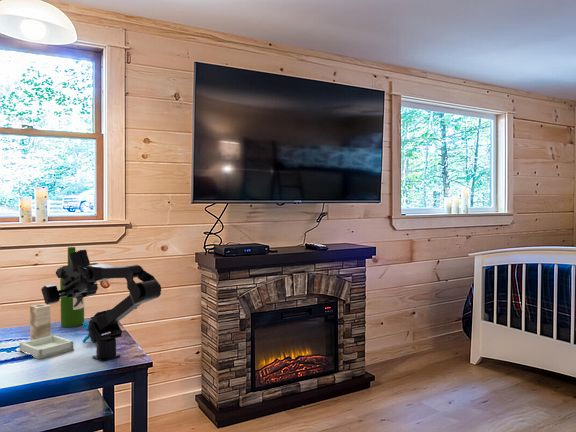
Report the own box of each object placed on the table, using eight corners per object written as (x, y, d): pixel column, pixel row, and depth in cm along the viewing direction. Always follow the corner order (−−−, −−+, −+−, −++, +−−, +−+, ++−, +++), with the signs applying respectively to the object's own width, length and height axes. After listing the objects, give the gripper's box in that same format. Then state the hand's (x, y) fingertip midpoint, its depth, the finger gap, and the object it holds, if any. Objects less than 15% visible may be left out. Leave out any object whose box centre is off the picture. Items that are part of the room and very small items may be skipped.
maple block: (50, 339, 177) (50, 305, 176) (37, 343, 173) (36, 307, 172) (43, 337, 180) (43, 303, 179) (30, 340, 176) (29, 305, 175)
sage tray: (73, 349, 165) (73, 341, 165) (38, 359, 155) (38, 350, 155) (53, 343, 173) (53, 334, 173) (19, 351, 163) (19, 343, 163)
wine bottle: (73, 328, 192) (72, 248, 191) (56, 326, 195) (54, 248, 194) (89, 322, 201) (87, 246, 200) (72, 320, 204) (70, 245, 202)
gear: (103, 340, 170) (82, 321, 170) (90, 353, 169) (69, 334, 168) (108, 336, 181) (88, 318, 180) (96, 347, 180) (76, 330, 179)
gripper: (97, 258, 173) (75, 274, 181) (48, 265, 157) (26, 281, 165) (107, 287, 171) (83, 301, 179) (58, 296, 155) (35, 312, 163)
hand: (58, 298), depth 171 cm, fingers open, 9 cm apart
